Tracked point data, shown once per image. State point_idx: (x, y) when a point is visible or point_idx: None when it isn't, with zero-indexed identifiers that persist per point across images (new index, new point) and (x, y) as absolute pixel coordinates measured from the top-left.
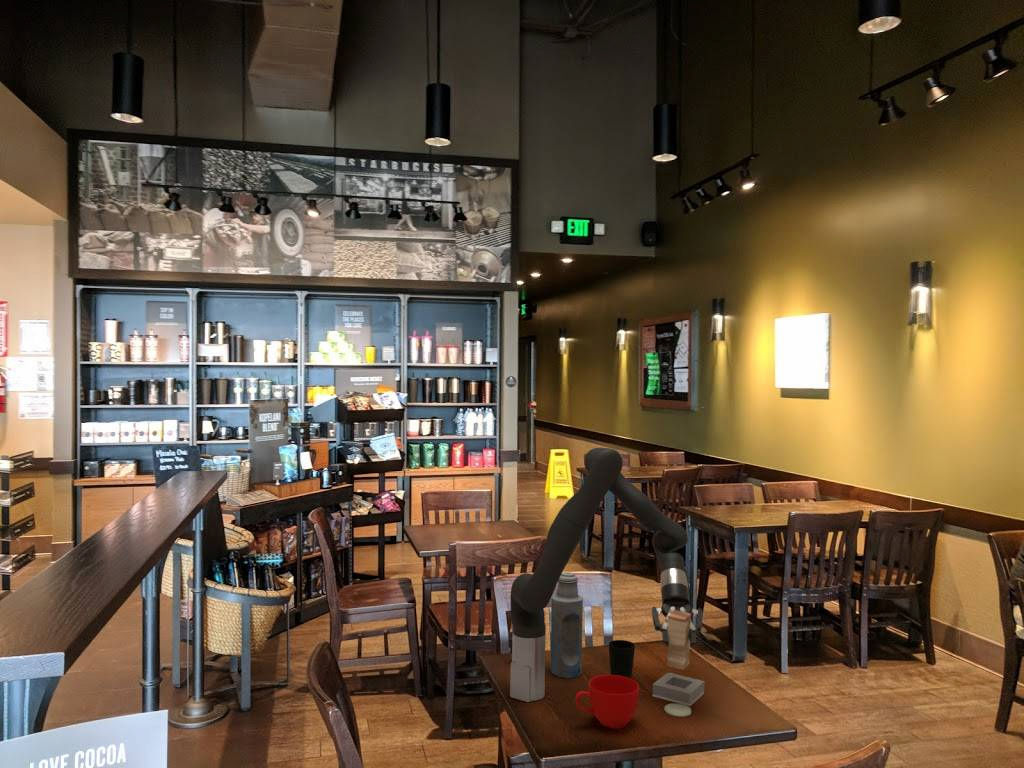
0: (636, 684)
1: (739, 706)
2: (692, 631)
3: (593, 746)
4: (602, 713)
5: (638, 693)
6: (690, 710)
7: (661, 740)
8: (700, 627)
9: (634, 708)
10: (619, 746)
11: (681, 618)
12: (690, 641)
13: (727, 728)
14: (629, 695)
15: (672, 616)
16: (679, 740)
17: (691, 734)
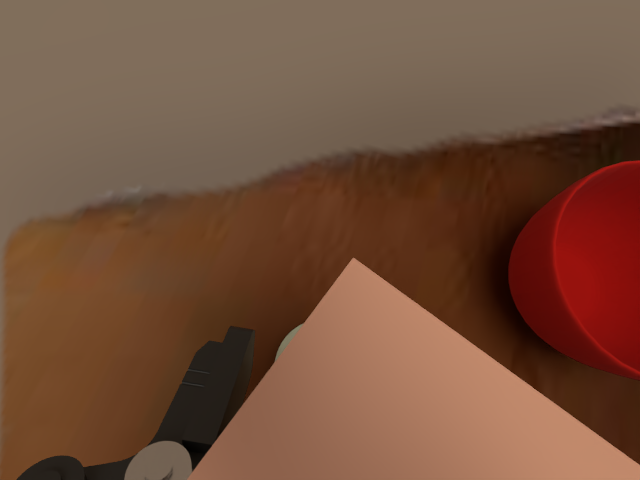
0: (556, 277)
1: (77, 400)
2: (190, 433)
3: (618, 149)
4: (635, 219)
5: (545, 220)
6: (280, 351)
7: (427, 171)
8: (48, 470)
9: (532, 216)
10: (548, 146)
11: (418, 310)
12: (240, 397)
13: (203, 232)
14: (595, 171)
15: (598, 450)
16: (376, 168)
17: (329, 200)
